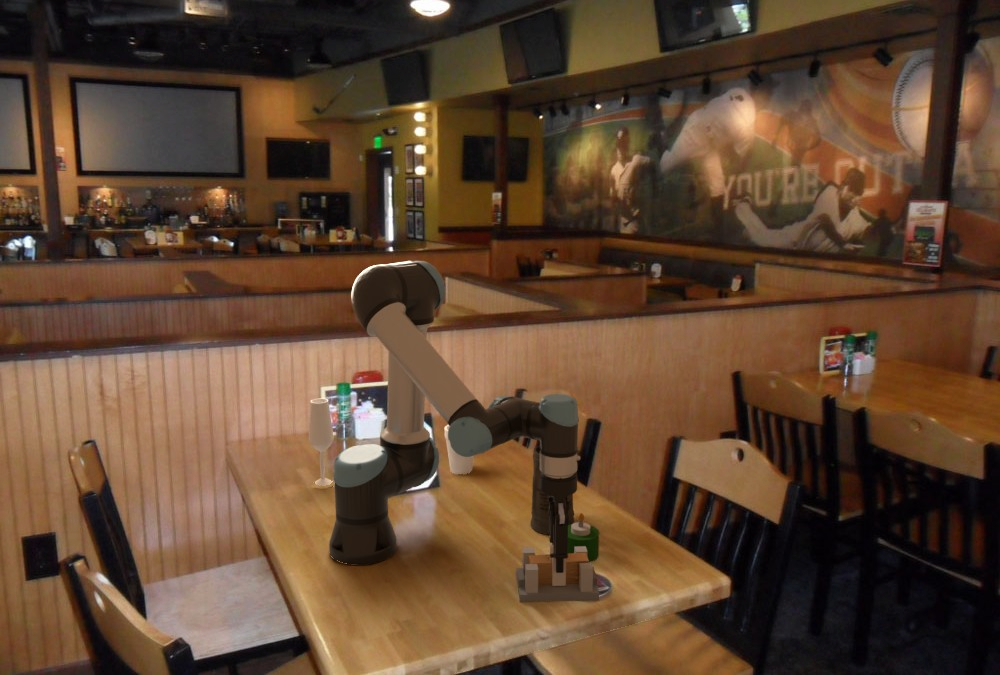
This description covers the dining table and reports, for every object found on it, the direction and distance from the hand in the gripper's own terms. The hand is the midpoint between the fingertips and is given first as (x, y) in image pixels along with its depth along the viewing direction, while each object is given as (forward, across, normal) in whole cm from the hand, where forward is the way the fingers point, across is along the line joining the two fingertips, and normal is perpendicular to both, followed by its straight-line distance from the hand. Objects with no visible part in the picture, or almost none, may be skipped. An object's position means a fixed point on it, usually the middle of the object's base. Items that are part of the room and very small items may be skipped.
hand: (557, 579), depth 159 cm
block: (0, 0, 0) cm, 0 cm away
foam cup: (+1, +66, +20) cm, 69 cm away
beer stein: (+2, +31, -3) cm, 31 cm away
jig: (+2, 0, 0) cm, 2 cm away
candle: (+2, +14, -7) cm, 16 cm away
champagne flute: (+1, +57, +58) cm, 82 cm away
